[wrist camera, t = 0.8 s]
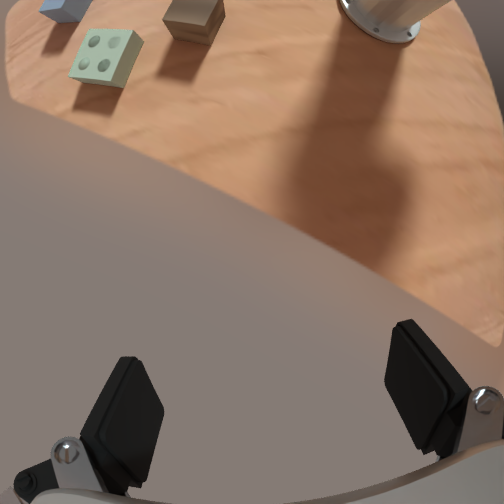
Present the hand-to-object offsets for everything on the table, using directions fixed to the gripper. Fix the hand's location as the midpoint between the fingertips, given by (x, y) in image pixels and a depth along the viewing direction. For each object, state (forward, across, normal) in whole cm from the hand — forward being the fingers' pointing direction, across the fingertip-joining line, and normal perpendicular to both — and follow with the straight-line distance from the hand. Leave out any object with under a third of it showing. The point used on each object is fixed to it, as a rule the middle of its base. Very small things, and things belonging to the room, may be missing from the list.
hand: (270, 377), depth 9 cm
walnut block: (+27, +3, -26) cm, 37 cm away
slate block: (+27, +22, -38) cm, 51 cm away
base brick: (+26, +15, -25) cm, 39 cm away
